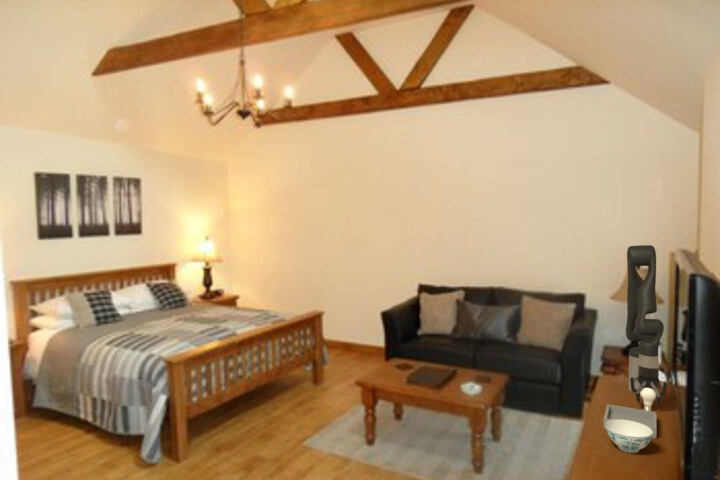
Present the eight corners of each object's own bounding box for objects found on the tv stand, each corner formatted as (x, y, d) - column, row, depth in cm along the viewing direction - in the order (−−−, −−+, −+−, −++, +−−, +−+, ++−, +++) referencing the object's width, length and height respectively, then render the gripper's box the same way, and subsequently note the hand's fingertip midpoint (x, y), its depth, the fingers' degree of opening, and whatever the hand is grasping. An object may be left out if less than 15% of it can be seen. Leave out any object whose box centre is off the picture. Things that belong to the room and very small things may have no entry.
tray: (607, 413, 211) (607, 404, 210) (656, 421, 201) (656, 412, 201) (603, 428, 195) (603, 418, 195) (656, 438, 186) (656, 428, 186)
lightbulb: (640, 412, 211) (641, 387, 210) (638, 407, 217) (639, 382, 216) (657, 415, 208) (658, 389, 208) (654, 409, 214) (655, 384, 214)
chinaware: (599, 449, 178) (599, 428, 178) (613, 435, 189) (613, 416, 188) (645, 463, 168) (645, 440, 167) (657, 448, 178) (657, 427, 178)
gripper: (668, 365, 211) (667, 403, 212) (629, 360, 218) (629, 397, 219) (668, 369, 204) (667, 409, 205) (629, 364, 212) (628, 403, 212)
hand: (647, 403), depth 212 cm, fingers closed on lightbulb, 6 cm apart
